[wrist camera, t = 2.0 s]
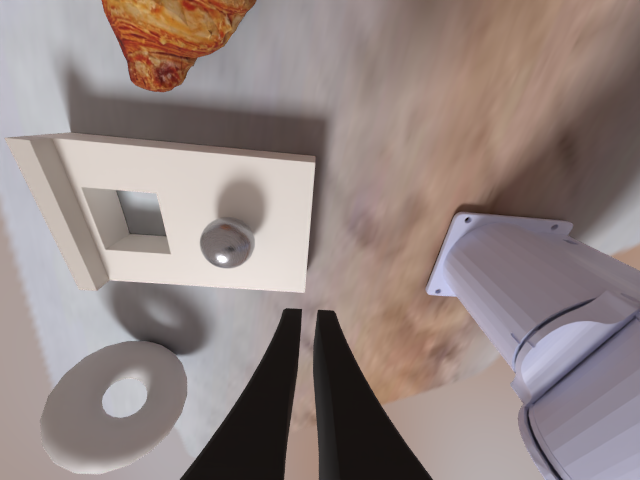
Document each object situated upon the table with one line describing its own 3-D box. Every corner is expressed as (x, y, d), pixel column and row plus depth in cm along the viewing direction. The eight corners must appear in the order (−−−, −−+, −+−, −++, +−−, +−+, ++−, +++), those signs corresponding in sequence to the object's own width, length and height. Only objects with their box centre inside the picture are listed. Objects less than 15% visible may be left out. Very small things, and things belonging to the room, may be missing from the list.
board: (315, 156, 16) (315, 166, 13) (305, 273, 21) (303, 303, 18) (70, 132, 15) (4, 137, 12) (117, 260, 20) (79, 289, 17)
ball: (259, 211, 16) (246, 233, 13) (260, 253, 17) (249, 280, 14) (209, 207, 15) (185, 228, 13) (214, 249, 17) (194, 277, 14)
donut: (104, 336, 24) (-14, 461, 16) (115, 317, 23) (-7, 442, 14) (195, 373, 28) (138, 495, 19) (209, 357, 26) (155, 481, 18)
